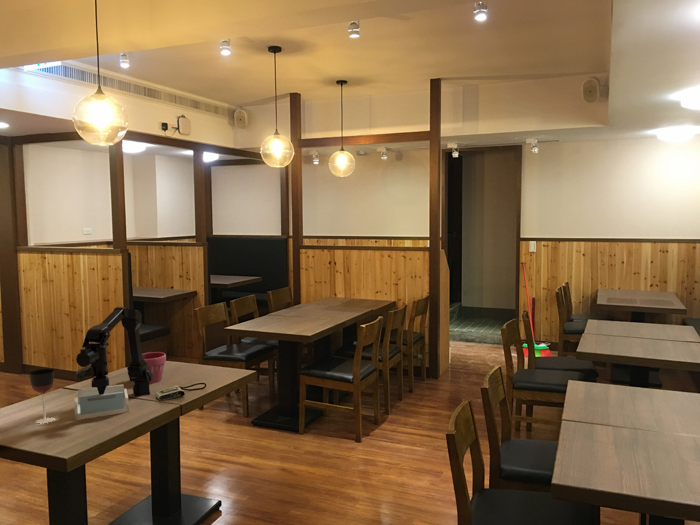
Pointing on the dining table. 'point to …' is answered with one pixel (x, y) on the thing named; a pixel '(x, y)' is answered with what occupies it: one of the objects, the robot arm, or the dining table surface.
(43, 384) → the wineglass
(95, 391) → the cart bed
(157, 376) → the plant pot
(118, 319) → the robot arm
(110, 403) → the tailgate
